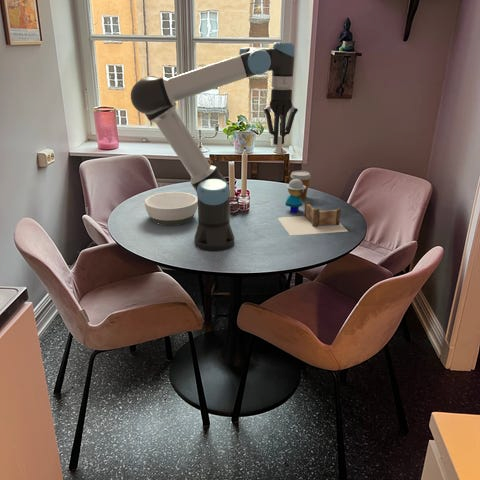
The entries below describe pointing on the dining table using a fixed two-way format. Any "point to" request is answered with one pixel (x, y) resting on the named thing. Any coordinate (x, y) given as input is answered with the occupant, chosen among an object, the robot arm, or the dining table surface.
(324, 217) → the fence fixed
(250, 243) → the dining table surface
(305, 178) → the disposable coffee cup
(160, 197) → the bowl
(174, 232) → the dining table surface
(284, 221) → the card
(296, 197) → the toy
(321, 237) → the dining table surface
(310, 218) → the fence gate
